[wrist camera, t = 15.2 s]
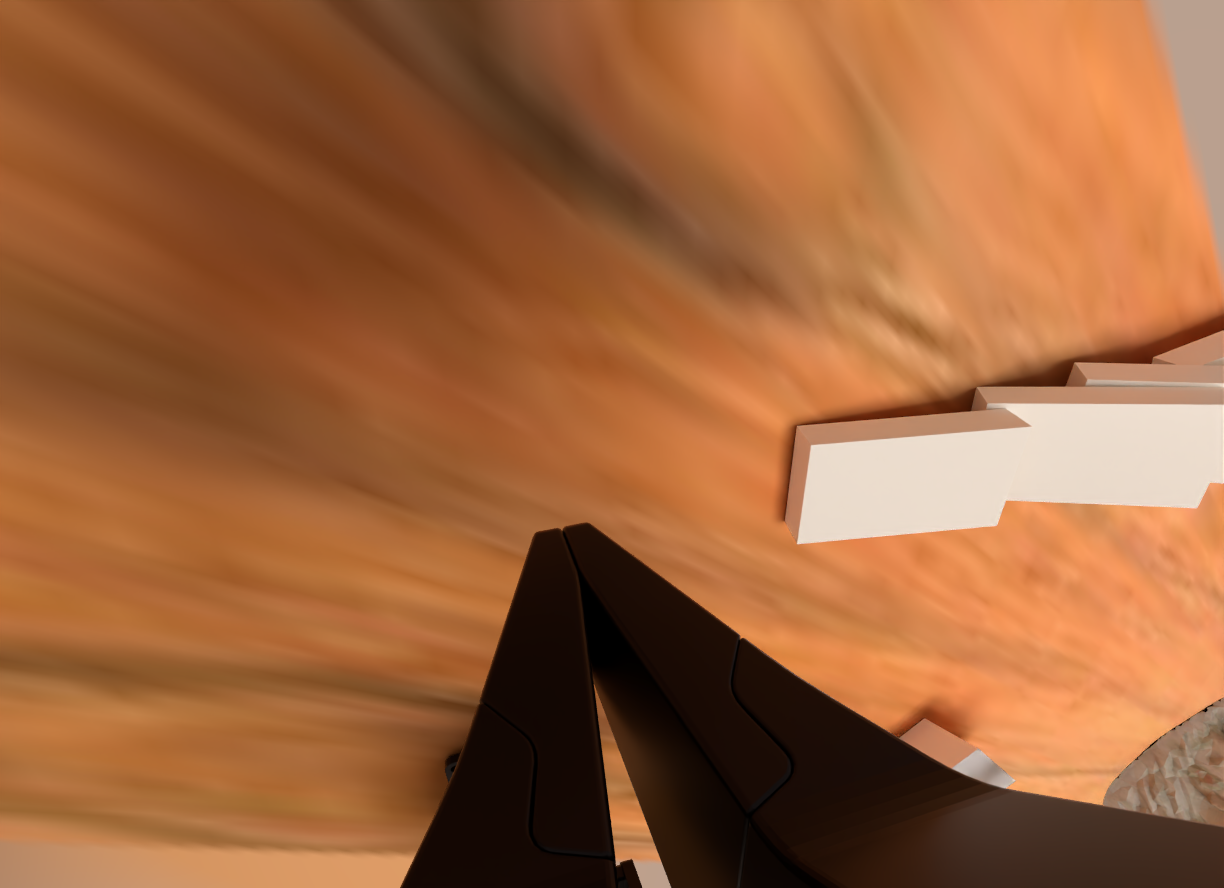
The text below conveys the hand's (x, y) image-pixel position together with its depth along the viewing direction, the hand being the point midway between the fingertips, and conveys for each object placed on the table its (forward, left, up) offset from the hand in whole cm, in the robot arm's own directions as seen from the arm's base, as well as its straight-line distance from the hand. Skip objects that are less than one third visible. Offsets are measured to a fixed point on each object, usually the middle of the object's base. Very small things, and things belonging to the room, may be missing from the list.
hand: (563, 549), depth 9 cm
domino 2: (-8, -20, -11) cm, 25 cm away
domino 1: (-8, -12, -11) cm, 18 cm away
